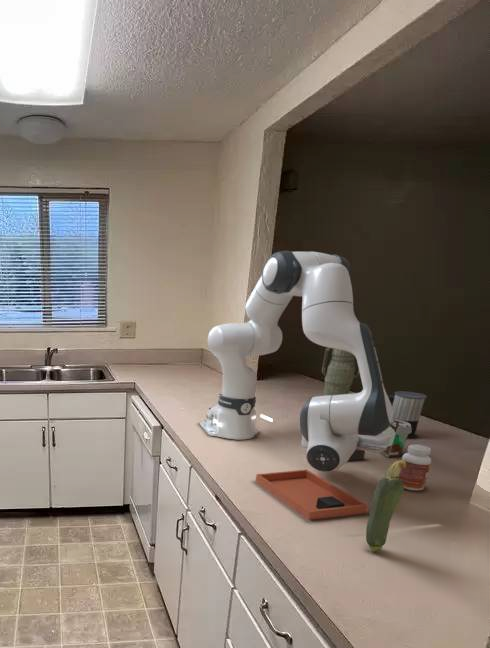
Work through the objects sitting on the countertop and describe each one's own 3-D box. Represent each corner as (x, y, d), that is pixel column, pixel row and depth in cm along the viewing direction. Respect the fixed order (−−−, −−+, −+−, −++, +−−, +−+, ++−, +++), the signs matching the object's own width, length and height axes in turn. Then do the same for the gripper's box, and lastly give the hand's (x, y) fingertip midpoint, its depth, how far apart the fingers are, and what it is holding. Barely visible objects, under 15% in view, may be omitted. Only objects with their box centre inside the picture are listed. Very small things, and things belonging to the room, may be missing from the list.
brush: (346, 461, 132) (354, 423, 128) (335, 456, 136) (343, 419, 132) (363, 459, 133) (371, 422, 129) (352, 454, 137) (360, 418, 133)
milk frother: (415, 433, 157) (425, 393, 152) (418, 445, 144) (430, 402, 139) (369, 426, 164) (377, 388, 159) (368, 438, 152) (377, 397, 147)
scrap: (315, 507, 104) (317, 497, 103) (330, 505, 104) (332, 496, 104) (327, 515, 100) (329, 505, 99) (342, 513, 101) (344, 503, 100)
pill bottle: (427, 492, 112) (439, 452, 108) (399, 489, 113) (410, 450, 110) (418, 483, 117) (429, 444, 113) (392, 480, 119) (401, 442, 115)
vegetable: (356, 543, 90) (378, 453, 83) (376, 542, 90) (399, 452, 83) (371, 555, 86) (395, 462, 79) (392, 554, 86) (417, 461, 79)
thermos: (309, 423, 168) (326, 331, 156) (344, 426, 164) (364, 332, 152) (312, 430, 160) (331, 333, 148) (349, 433, 157) (370, 334, 145)
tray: (255, 482, 118) (256, 474, 117) (305, 477, 121) (306, 469, 120) (308, 521, 98) (310, 511, 97) (366, 514, 101) (368, 505, 100)
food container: (412, 460, 133) (421, 429, 129) (390, 458, 134) (398, 428, 130) (394, 446, 144) (401, 417, 140) (373, 445, 145) (380, 416, 142)
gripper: (388, 438, 105) (396, 425, 115) (299, 422, 117) (312, 411, 127) (382, 462, 107) (390, 447, 117) (295, 444, 120) (309, 431, 129)
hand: (349, 428), depth 122 cm, fingers open, 8 cm apart
